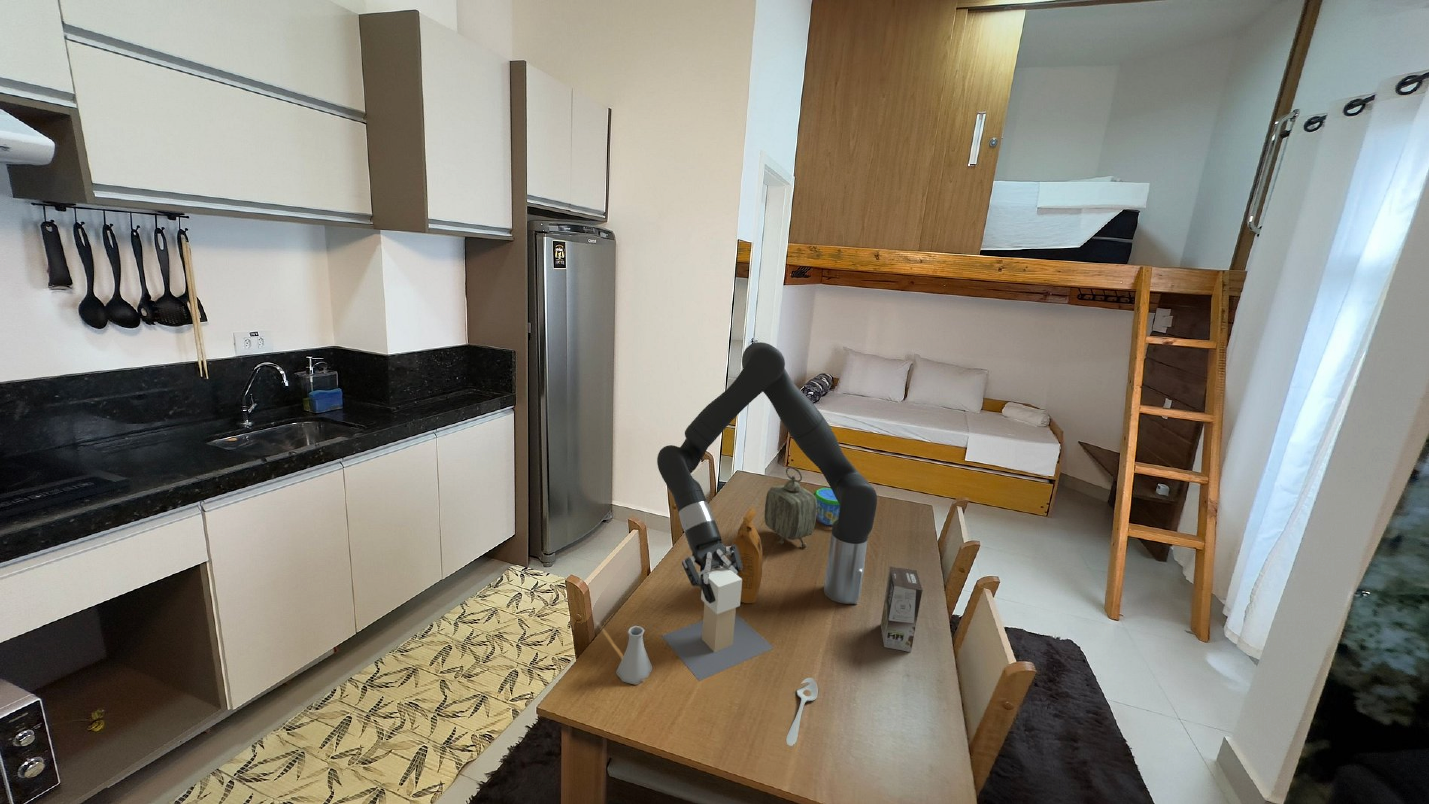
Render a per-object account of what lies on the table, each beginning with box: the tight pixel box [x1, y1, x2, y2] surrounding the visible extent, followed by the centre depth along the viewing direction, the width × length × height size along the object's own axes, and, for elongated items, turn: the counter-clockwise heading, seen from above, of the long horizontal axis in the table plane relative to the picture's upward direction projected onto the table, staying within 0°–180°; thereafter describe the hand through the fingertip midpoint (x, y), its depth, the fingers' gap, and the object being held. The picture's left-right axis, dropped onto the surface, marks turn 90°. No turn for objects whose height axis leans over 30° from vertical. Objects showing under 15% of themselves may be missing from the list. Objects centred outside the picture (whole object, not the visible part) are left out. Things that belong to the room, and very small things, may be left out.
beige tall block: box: [702, 602, 737, 652], centre depth 123 cm, size 5×5×16 cm
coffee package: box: [726, 508, 763, 604], centre depth 143 cm, size 10×12×22 cm
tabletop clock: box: [764, 466, 817, 549], centre depth 171 cm, size 14×9×25 cm, turn 34°
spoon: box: [786, 677, 819, 747], centre depth 107 cm, size 4×21×2 cm, turn 158°
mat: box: [661, 612, 774, 682], centre depth 125 cm, size 20×16×1 cm
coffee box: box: [880, 566, 924, 653], centre depth 130 cm, size 9×6×16 cm
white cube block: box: [700, 567, 742, 614], centre depth 122 cm, size 6×6×7 cm
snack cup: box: [812, 487, 840, 526], centre depth 189 cm, size 16×10×10 cm
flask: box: [615, 625, 653, 685], centre depth 114 cm, size 7×7×10 cm
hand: (725, 597), depth 121 cm, fingers closed on white cube block, 6 cm apart
